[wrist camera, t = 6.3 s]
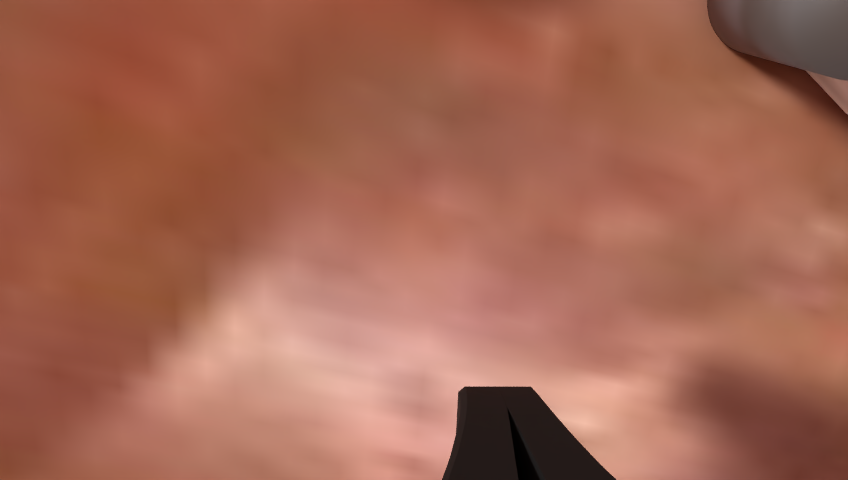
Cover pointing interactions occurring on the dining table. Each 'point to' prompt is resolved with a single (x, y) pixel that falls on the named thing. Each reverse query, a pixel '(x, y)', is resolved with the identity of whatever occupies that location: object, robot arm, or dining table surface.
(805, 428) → the dining table surface
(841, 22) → the lever
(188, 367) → the dining table surface
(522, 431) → the robot arm
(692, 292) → the dining table surface
